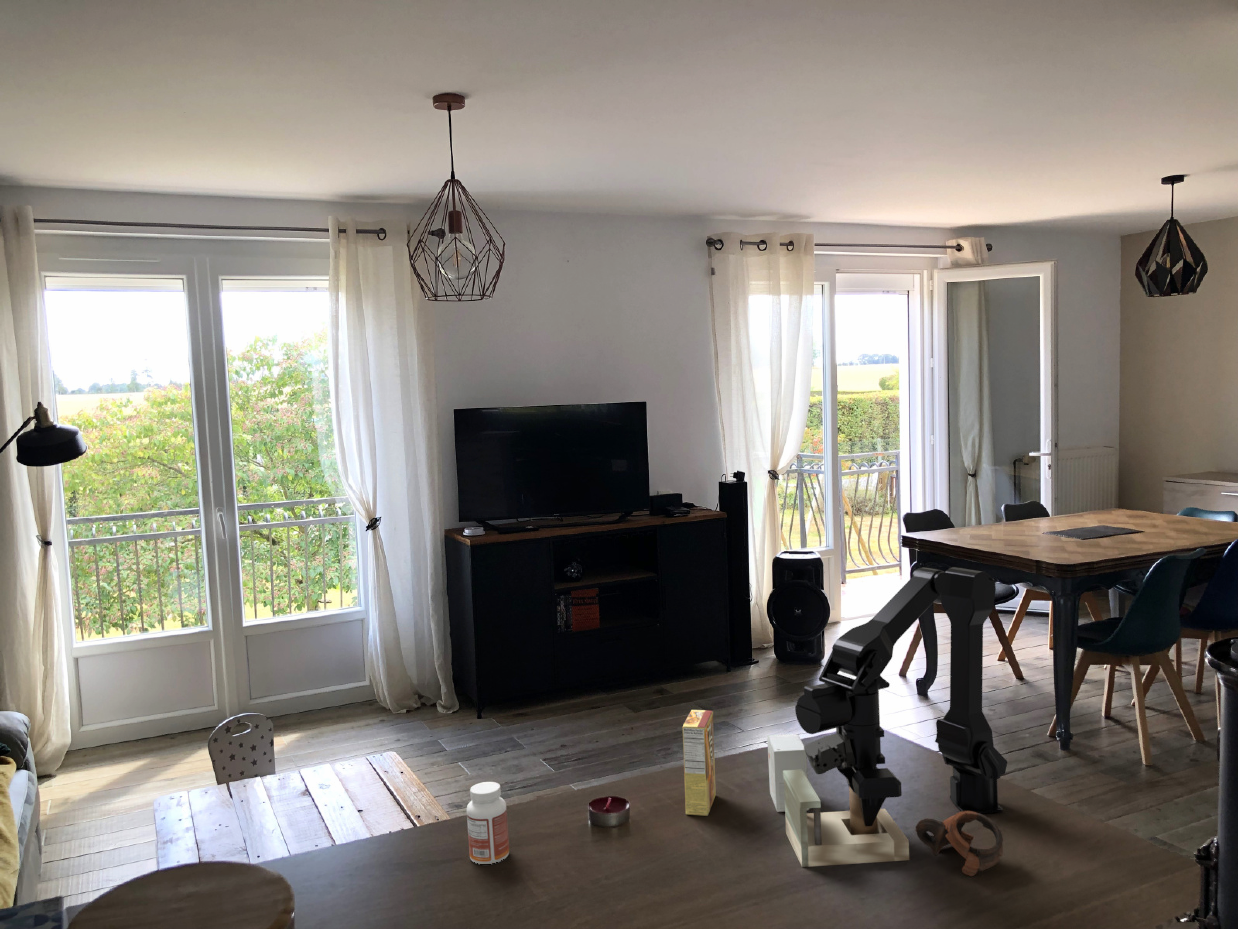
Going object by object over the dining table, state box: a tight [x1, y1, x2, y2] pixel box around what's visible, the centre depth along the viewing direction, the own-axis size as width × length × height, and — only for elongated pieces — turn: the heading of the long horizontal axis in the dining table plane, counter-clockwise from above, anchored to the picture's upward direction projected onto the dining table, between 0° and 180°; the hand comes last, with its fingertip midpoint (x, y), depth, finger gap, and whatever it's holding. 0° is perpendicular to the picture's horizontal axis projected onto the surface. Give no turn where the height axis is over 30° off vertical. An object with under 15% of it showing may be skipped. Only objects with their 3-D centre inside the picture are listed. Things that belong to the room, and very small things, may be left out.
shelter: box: [783, 769, 910, 868], centre depth 142 cm, size 16×12×10 cm
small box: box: [766, 733, 810, 813], centre depth 158 cm, size 8×6×10 cm
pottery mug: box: [915, 811, 1004, 877], centre depth 135 cm, size 12×10×8 cm
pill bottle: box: [466, 781, 510, 865], centre depth 144 cm, size 6×6×11 cm
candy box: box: [682, 709, 716, 817], centre depth 159 cm, size 9×4×15 cm, turn 166°
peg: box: [848, 786, 877, 835], centre depth 142 cm, size 4×4×7 cm
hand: (863, 819), depth 142 cm, fingers open, 4 cm apart
